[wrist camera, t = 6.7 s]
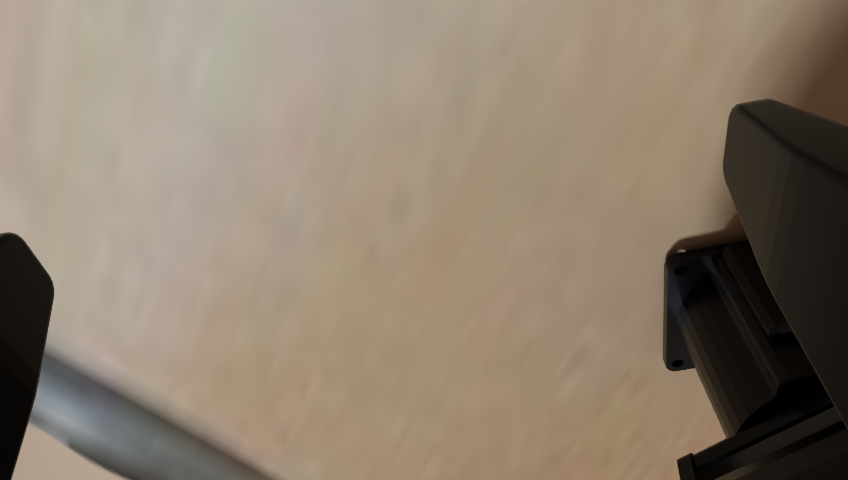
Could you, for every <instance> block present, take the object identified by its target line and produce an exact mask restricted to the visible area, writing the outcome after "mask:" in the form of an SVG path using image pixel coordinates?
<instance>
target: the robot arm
mask: <svg viewBox="0 0 848 480" xmlns="http://www.w3.org/2000/svg"><path fill="white" fill-rule="evenodd" d="M723 172H724V178H725V181H726V184H727V187H728V189H729V192H730V194H731V197H732V199H733V202H734V204H735V207H736V209H737V212H738V214H739V217H740V219H741V222H742V224H743V227H744V229H745V232H746V234H747V237H748V239H749V240H746V241H741V242H736V243H730V244H725V245H720V246H714V247H709V248H704V249H699V250H693V251H688V252H683V253H678V254H675V255H672V256H671V257H669V258H668V259H667V260H666V262H665V265H664V321H663V360H664V363H665V365H666V368H667V369H668V370H671V371H680V370H686V369H691V368H695V369H696V371H697V373H698V375H699V377H700V380H701V382H702V384H703V386H704V389H705V391H706V393H707V395H708V398H709V400H710V402H711V404H712V407H713V409H714V411H715V413H716V415H717V418H718V420H719V422H720V424H721V427H722V429H723V431H724V433H725V436H726V439H724V440H722V441H720V442H718V443H716V444H714V445H712V446H710V447H708V448H706V449H704V450H702V451H700V452H698V453H696V454H694V455H693V454H692V453H690V454H688V455H686V456H684V457H682V458H680V459H678V460H677V464H678V469H679V475H680V480H848V126H845V125H843V124H840V123H837V122H834V121H831V120H828V119H826V118H823V117H820V116H817V115H814V114H812V113H809V112H806V111H803V110H800V109H797V108H795V107H792V106H789V105H786V104H783V103H780V102H778V101H775V100H772V99H763V100H757V101H752V102H746V103H741V104H737V105H736V106H734V107H733V108H732V110H731V112H730V115H729V119H728V127H727V135H726V143H725V151H724V159H723ZM681 265H683V266H681ZM678 266H681V267H679V268H677V267H678ZM53 299H54V286H53V282H52V280H51V277H50V276H49V274H48V273H47V271H46V270H45V269H44V267H43V266H42V265H41V263H40V262H39V260H38V259H37V258H36V256H35V255H34V254H33V252H32V251H31V249H30V248H29V247H28V245H27V244H26V242H25V241H24V240H23V239H22V238H21V237H20V236H18V235H17V234H14V233H10V232H8V233H1V234H0V480H11V478H12V475H13V472H14V468H15V465H16V462H17V458H18V455H19V452H20V448H21V445H22V442H23V438H24V435H25V432H26V428H27V425H28V422H29V418H30V415H31V411H32V408H33V404H34V400H35V396H36V392H37V387H38V382H39V377H40V372H41V366H42V360H43V355H44V349H45V344H46V338H47V333H48V327H49V321H50V316H51V310H52V305H53Z"/></svg>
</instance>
